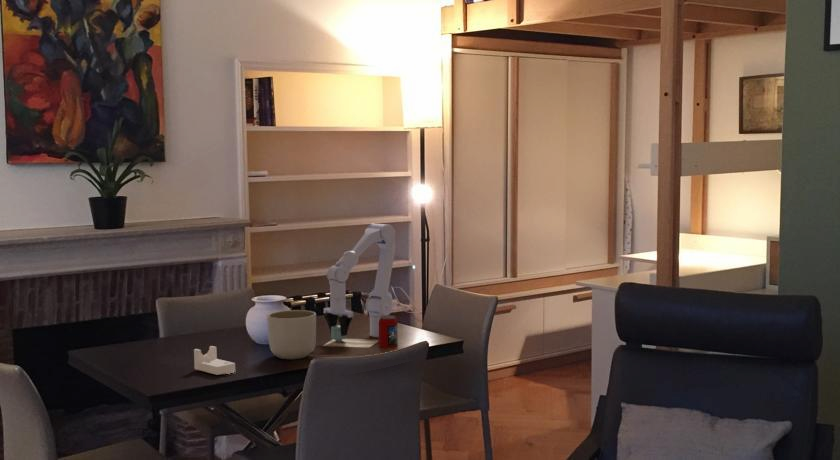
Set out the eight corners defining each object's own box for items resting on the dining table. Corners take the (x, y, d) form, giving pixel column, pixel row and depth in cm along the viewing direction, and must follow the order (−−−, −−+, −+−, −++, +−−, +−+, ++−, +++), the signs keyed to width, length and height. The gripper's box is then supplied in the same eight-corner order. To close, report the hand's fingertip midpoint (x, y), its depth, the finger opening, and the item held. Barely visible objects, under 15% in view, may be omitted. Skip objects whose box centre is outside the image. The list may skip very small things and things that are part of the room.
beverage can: (395, 351, 343) (394, 318, 342) (377, 350, 344) (376, 318, 343) (399, 347, 349) (399, 315, 348) (381, 347, 351) (381, 314, 350)
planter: (280, 364, 325) (279, 320, 324) (260, 355, 339) (259, 313, 338) (325, 357, 334) (324, 315, 333) (304, 349, 348) (303, 308, 347)
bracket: (194, 371, 317) (193, 349, 317) (212, 367, 322) (211, 345, 322) (217, 377, 308) (216, 354, 308) (235, 373, 313) (234, 351, 313)
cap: (328, 338, 354) (328, 326, 354) (339, 336, 358) (339, 324, 358) (337, 340, 350) (337, 328, 350) (349, 338, 354) (349, 326, 354)
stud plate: (334, 341, 362) (334, 330, 362) (380, 343, 358) (380, 332, 358) (322, 348, 349) (322, 337, 348) (369, 350, 344) (369, 339, 344)
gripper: (317, 297, 355) (317, 333, 356) (342, 301, 345) (343, 338, 346) (331, 295, 360) (332, 330, 361) (357, 299, 350) (357, 335, 351)
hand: (338, 334), depth 354 cm, fingers closed on cap, 5 cm apart
